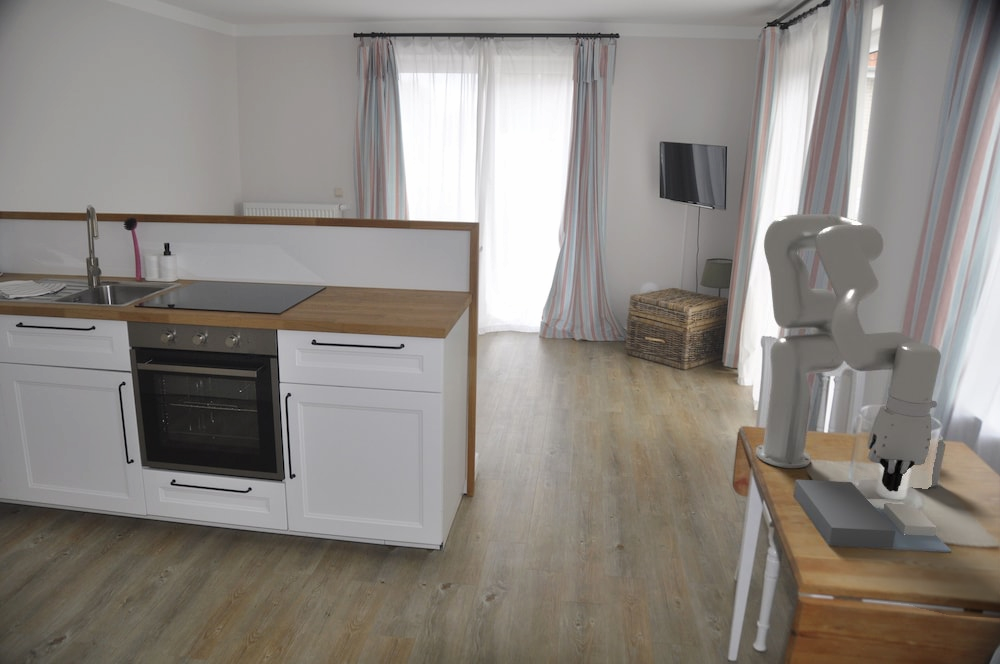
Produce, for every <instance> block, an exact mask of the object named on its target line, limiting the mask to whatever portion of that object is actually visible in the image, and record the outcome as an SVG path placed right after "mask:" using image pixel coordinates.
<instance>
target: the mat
mask: <svg viewBox="0 0 1000 664" xmlns="http://www.w3.org/2000/svg"><path fill="white" fill-rule="evenodd" d="M875 508H876V507H875ZM876 510H877V511H878V512H879V513H880V514H881V515H882V516H883V517H884V518H885V519H886V521H887V522H888V523H889V524H890V525H891V526H892V527H893V528H894V529H895V530H896V533H895V538H894V544H893V549H892V550H898V551H899V550H900V551H916V552H917V551H919V552H920V551H921V552H939V553H952V549H951V548H950V547H949V546H948V545H947V544H946V543H945V542H943V540H942V539H941V538H940V537H939V536H938V535H937V534H936V533H935V536H924V535H906V534H905V535H904V534H903V533H902V532H901V531H900V530H899V529H898V528H897V526H896V525H895V524H894V523H893V522H892V521H891V520H890V519H889V518H888V516H887V515H886V514H885V513H884V512H883V509H880V508H876Z"/></svg>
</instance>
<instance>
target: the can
mask: <svg viewBox="0 0 1000 664" xmlns="http://www.w3.org/2000/svg"><path fill="white" fill-rule="evenodd" d="M939 435H940V434H939ZM945 450H946V443H945V441H944V437H943V436H942V435H940V437H939V442H938V447H937V453H936V459H935V462H934V467H933V474H932V485H931V488H933V487H935V486H937V485H938V484H939V480H940V476H941V475H940V474H941V469H942V464H943V460H944V455H945Z"/></svg>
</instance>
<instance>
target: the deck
mask: <svg viewBox="0 0 1000 664" xmlns="http://www.w3.org/2000/svg"><path fill="white" fill-rule="evenodd" d="M794 483H795V484H794V490H793V498H794V499H795V500H796V502H797V503H798V504H799V506H800V507H801V508H802V510H803V512H804V513H805V515H806V516H807V517H808V519H809V520H810V521H811V524H813V526H814V527H815V528H816V529H817V531H818V533H819V535H820V536H821V537H822V538H823V540H824V541H825V543H826V544H827V546H828V547H843V548H858V549H859V548H862V549H880V550H881V549H883V550H894V549H893V544H894V538H895V533H896V530H895V529H894V528H893V527H892V526H891V525H890V524H889V523H888V522H887V521H886V519H885V518H884V517H883V516H882V515H881V514H880V513H879V512H878V511H877V510H876V508H875V507H874V506H873V505H872V504H871V503H870V502H869V501H868V500H867V499H866V498H867V497H866V496H865V495H864V494H863V493H862V492H861V491H860V490H859V488H858V487H857V486H856V485H855V484H854V483H853V482H852V481H851V482H850V481H833V480H830V481H829V480H811V479H795V482H794Z"/></svg>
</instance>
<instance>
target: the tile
mask: <svg viewBox="0 0 1000 664" xmlns="http://www.w3.org/2000/svg"><path fill="white" fill-rule="evenodd" d="M883 512H884V513H885V514H886V515H887V516H888V518H889V519H890V520H891V521H892V522H893V523H894V524H895V525H896V526H897V528H898V529H899V530H900V531H901V532H902V533H903V534H906V535H924V536H935V534H936V533H937V526H936V525H935V524H934V523H933V522H932V521H931V520H930V519H929V518H928V517H927V516H926V515H925V514H924V513H923V512H922V511H921V510H920V509H919V508H918V507H917V506H916V505H915V504H910V503H909V504H908V503H907V504H906V503H904V504H892V503H885V504H884V509H883Z"/></svg>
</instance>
